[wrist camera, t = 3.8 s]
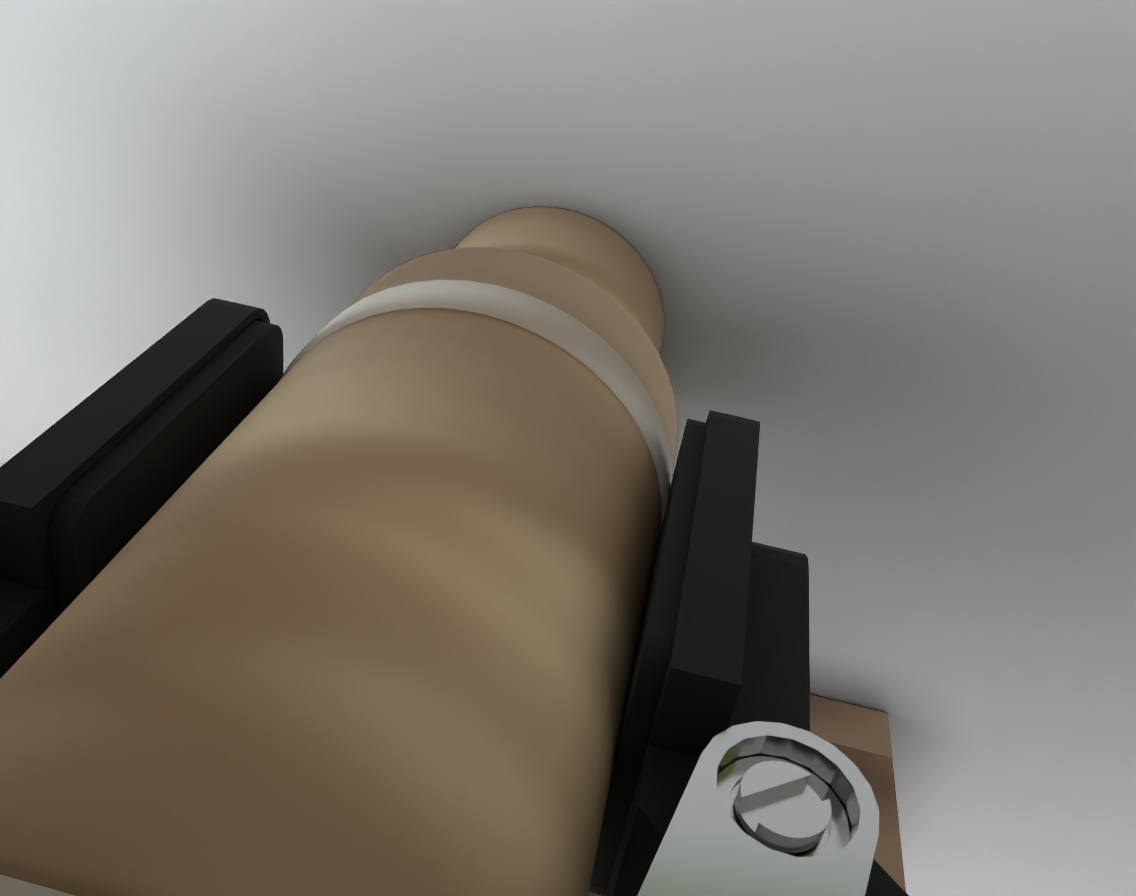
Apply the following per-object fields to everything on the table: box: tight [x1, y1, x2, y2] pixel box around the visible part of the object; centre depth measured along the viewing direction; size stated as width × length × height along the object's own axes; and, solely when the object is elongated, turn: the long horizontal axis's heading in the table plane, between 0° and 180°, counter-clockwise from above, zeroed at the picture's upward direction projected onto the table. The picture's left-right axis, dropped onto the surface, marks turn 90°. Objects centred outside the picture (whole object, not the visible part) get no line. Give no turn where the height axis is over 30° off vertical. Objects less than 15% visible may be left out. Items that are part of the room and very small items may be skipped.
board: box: [588, 694, 906, 896], centre depth 19 cm, size 20×11×5 cm, turn 81°
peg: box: [0, 207, 678, 896], centre depth 10 cm, size 4×4×11 cm
